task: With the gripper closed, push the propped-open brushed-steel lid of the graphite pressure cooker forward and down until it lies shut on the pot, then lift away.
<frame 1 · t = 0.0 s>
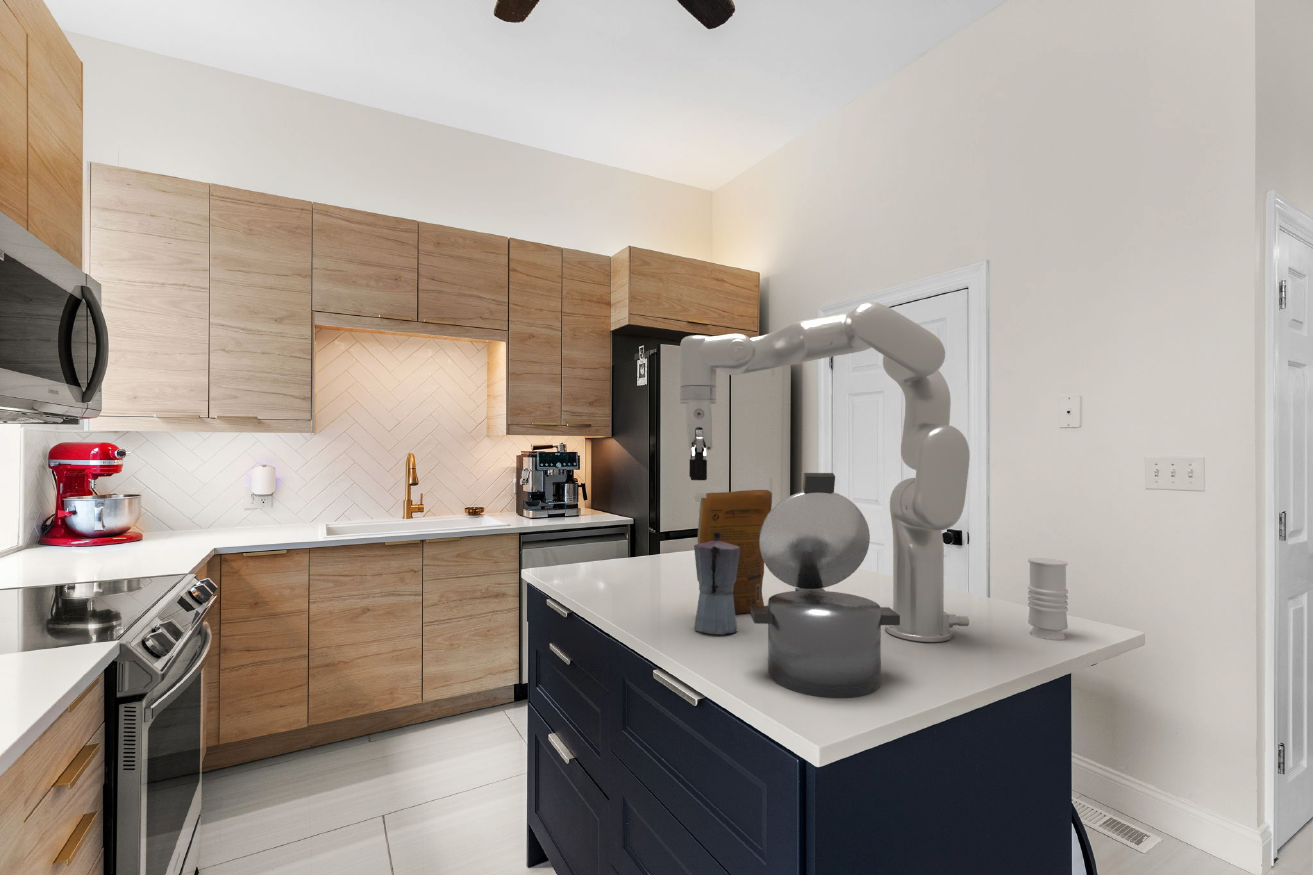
hand: (697, 478, 127), 31 cm above the counter, fingers open, 9 cm apart
grey ribbed canister: (1047, 636, 125), on the counter
lid: (813, 529, 110), point 23 cm above the counter, hinge at 70.0°
cooker pot: (823, 675, 102), on the counter
moka pot: (716, 631, 127), on the counter
pancake mix bag: (734, 613, 141), on the counter
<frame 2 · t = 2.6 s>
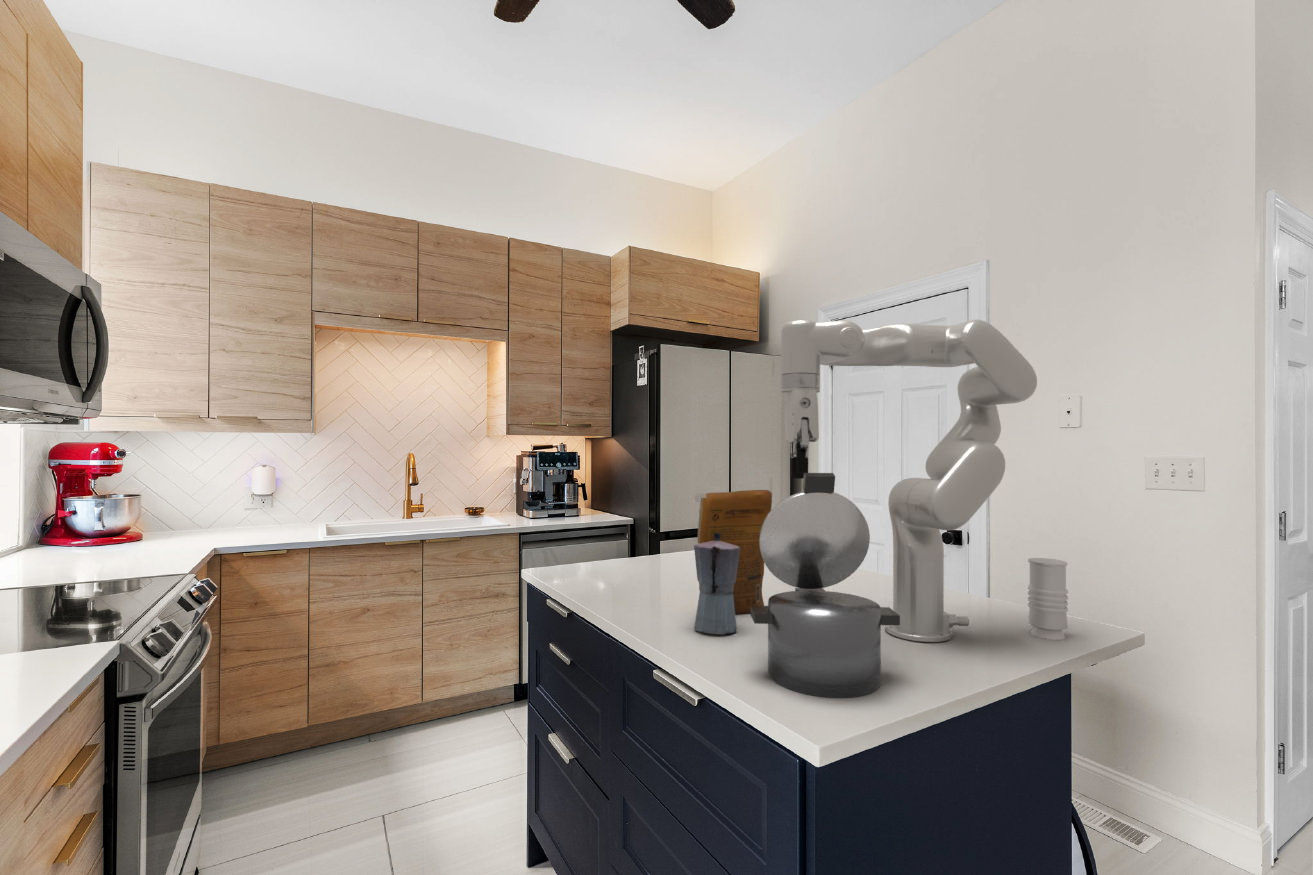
hand: (799, 478, 121), 32 cm above the counter, fingers closed
nothing on the counter moved.
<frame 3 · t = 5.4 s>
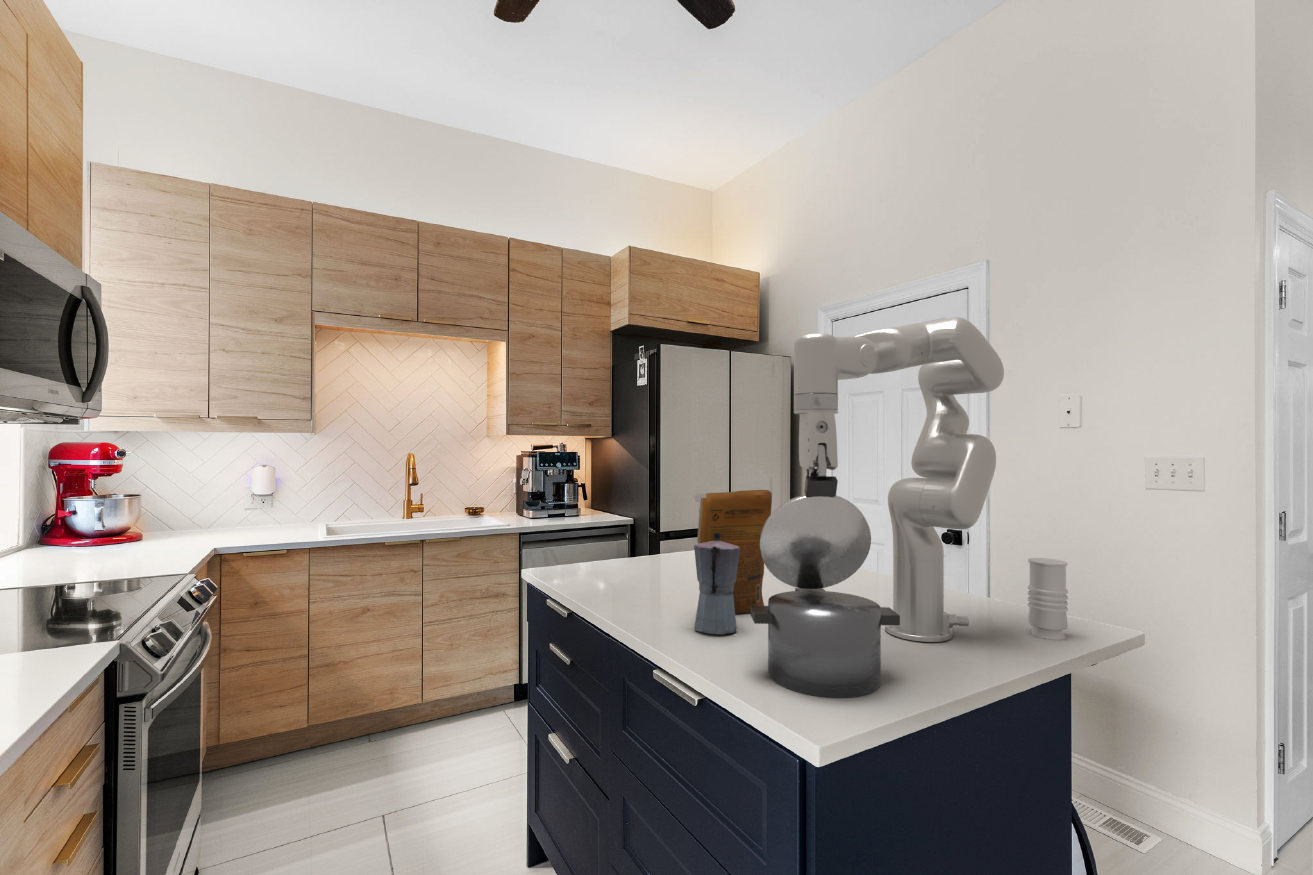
hand: (815, 509, 108), 27 cm above the counter, fingers closed
lid: (814, 531, 109), point 23 cm above the counter, hinge at 65.7°, touching gripper
everything else where it was.
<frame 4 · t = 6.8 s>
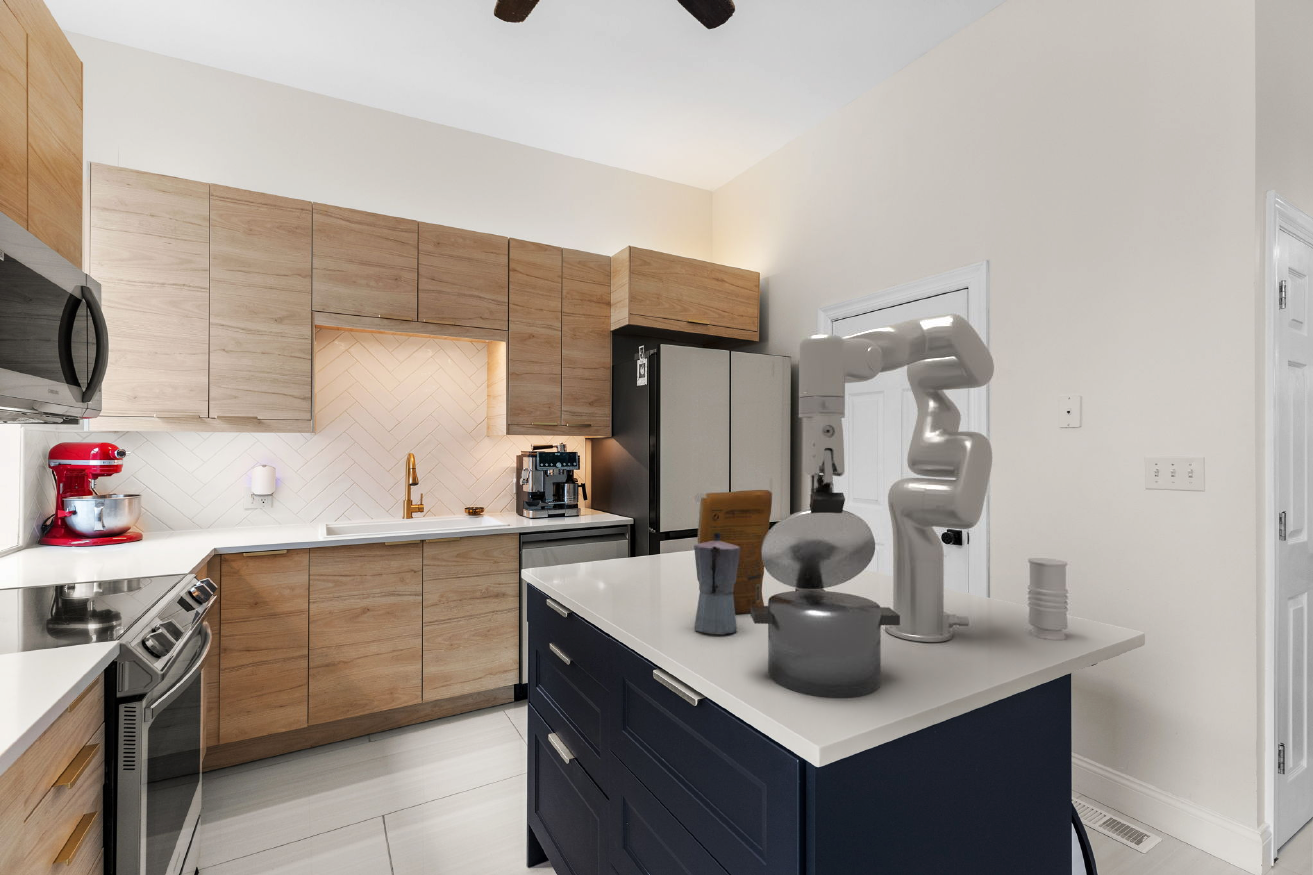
hand: (820, 517, 104), 26 cm above the counter, fingers closed
lid: (817, 539, 107), point 22 cm above the counter, hinge at 52.1°, touching gripper
everything else where it was.
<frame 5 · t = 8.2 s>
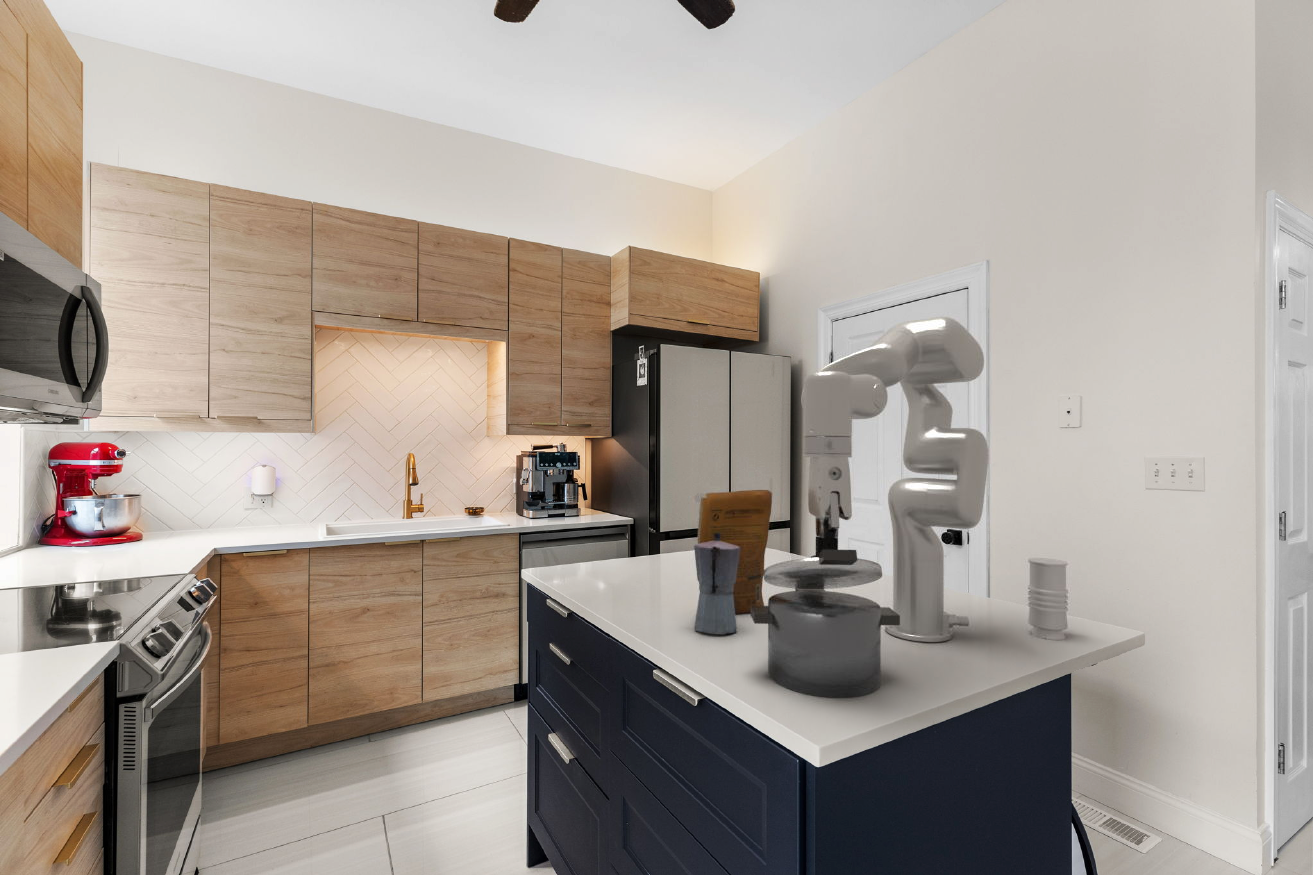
hand: (826, 561, 99), 19 cm above the counter, fingers closed
lid: (822, 565, 103), point 18 cm above the counter, hinge at 24.0°, touching gripper
everything else where it was.
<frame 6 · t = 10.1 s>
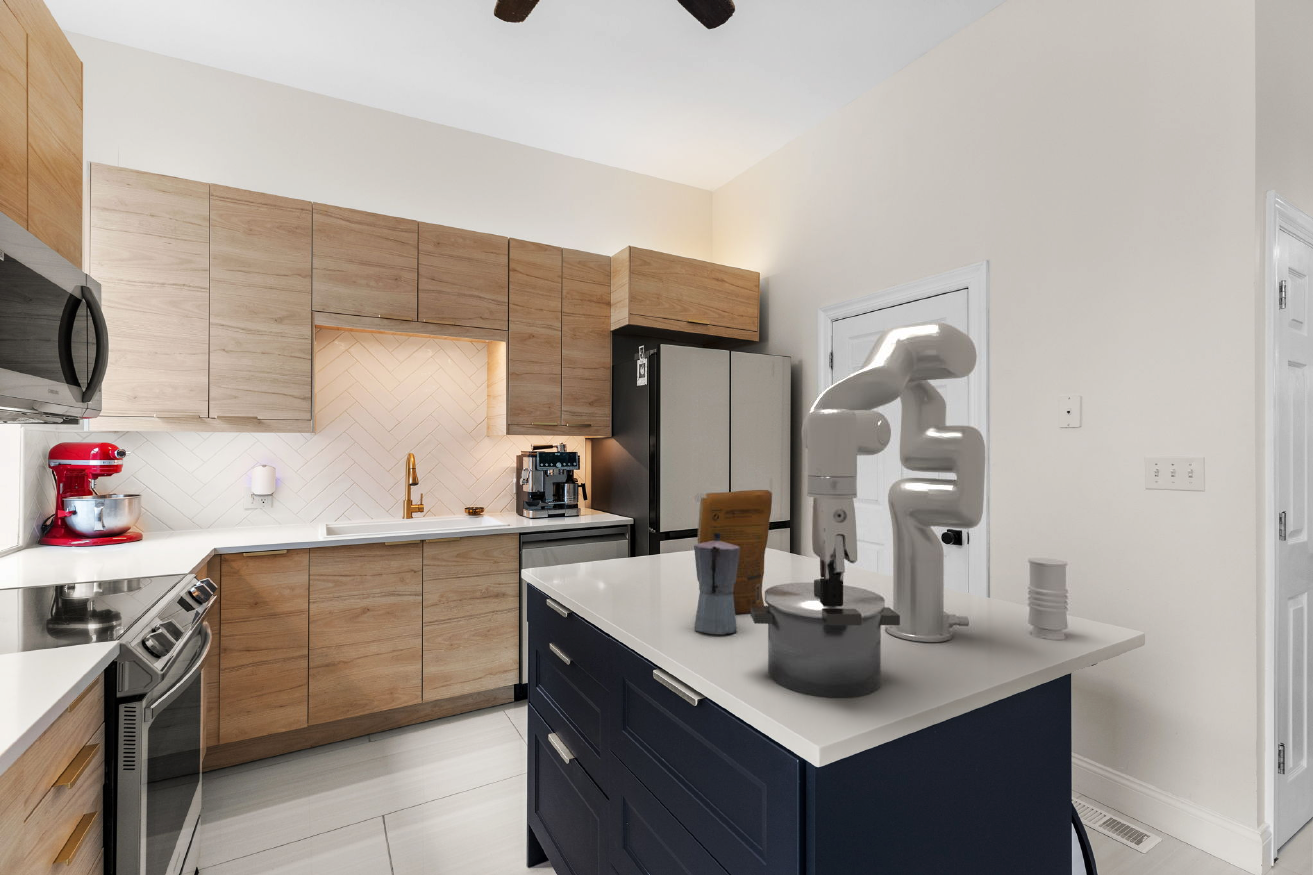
hand: (831, 604, 97), 13 cm above the counter, fingers closed
lid: (825, 594, 101), point 14 cm above the counter, hinge at -0.1°, touching gripper
everything else where it was.
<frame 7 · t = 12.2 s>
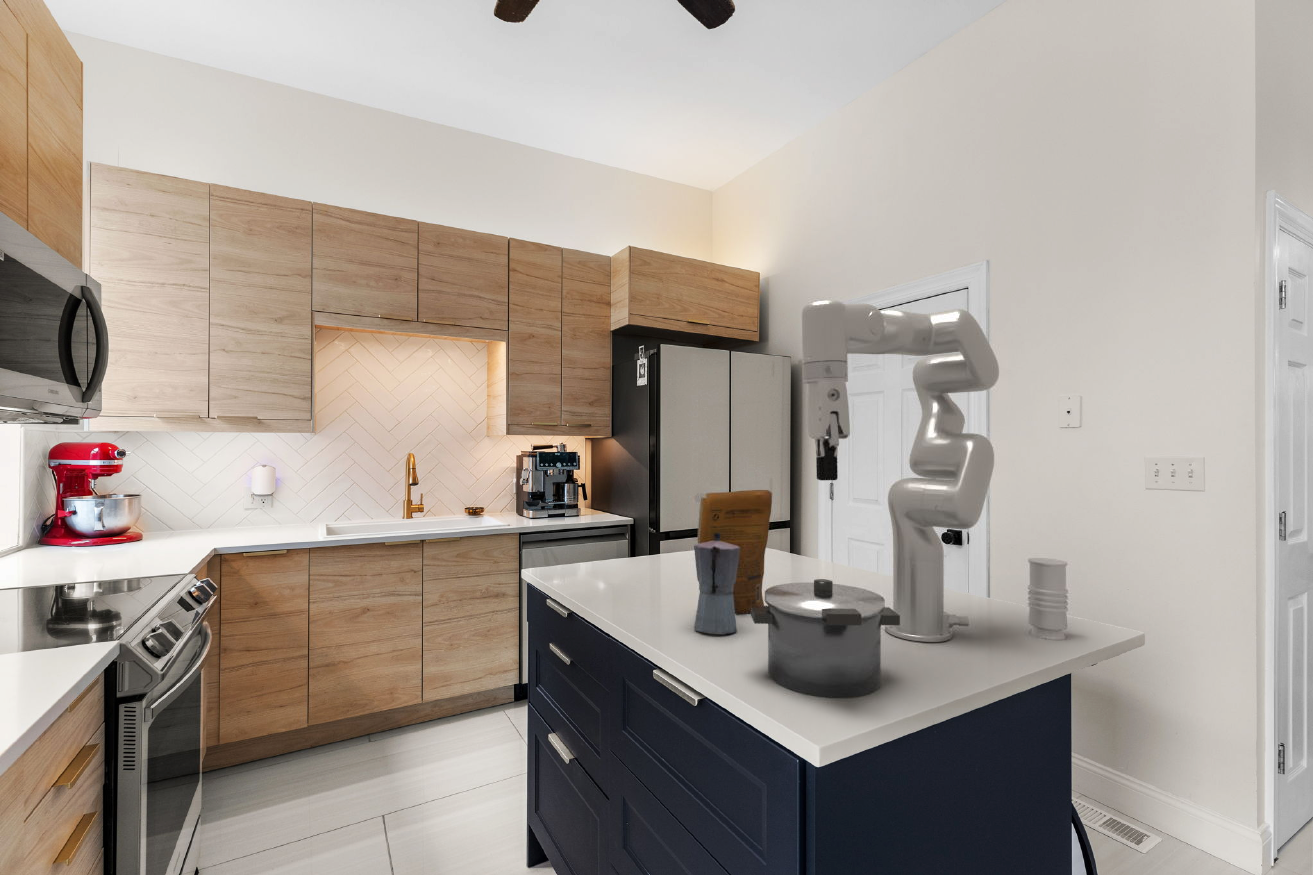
hand: (827, 479, 107), 32 cm above the counter, fingers closed
lid: (825, 594, 101), point 14 cm above the counter, hinge at -0.1°
everything else where it was.
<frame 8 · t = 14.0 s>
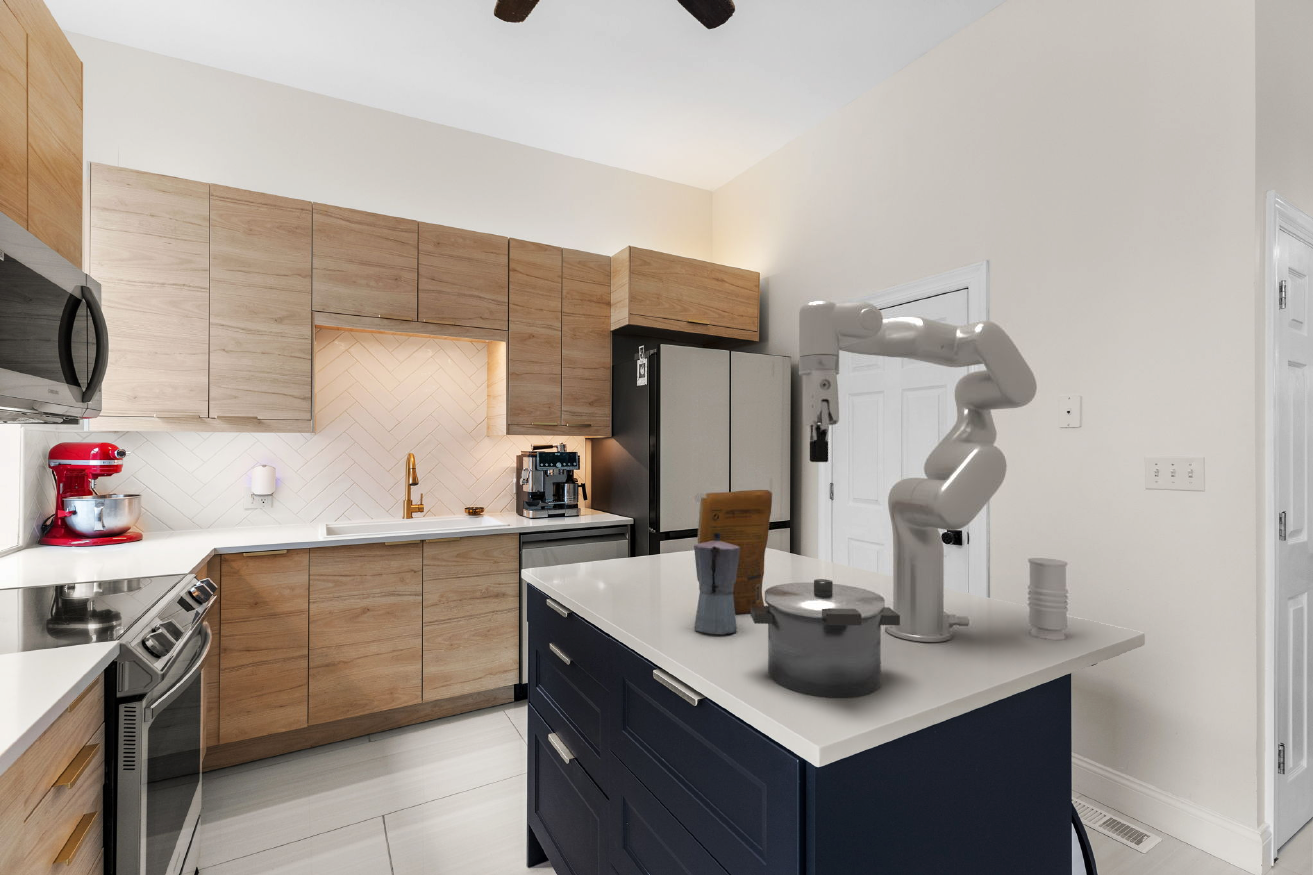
hand: (818, 461, 119), 35 cm above the counter, fingers closed
nothing on the counter moved.
at the end: lid at +0° (first picture: +70°); moka pot moved 0.2 cm from its start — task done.
